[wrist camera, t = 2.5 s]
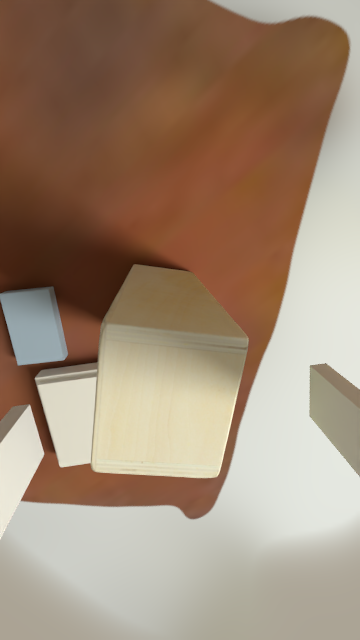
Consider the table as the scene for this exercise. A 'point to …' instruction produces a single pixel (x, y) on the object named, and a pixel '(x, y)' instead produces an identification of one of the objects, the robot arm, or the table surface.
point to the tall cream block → (165, 377)
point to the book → (34, 325)
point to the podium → (69, 410)
